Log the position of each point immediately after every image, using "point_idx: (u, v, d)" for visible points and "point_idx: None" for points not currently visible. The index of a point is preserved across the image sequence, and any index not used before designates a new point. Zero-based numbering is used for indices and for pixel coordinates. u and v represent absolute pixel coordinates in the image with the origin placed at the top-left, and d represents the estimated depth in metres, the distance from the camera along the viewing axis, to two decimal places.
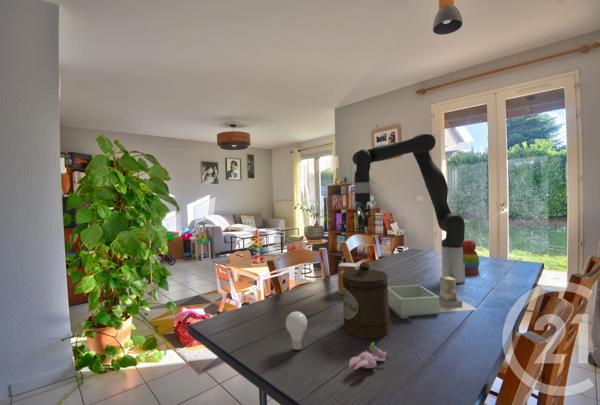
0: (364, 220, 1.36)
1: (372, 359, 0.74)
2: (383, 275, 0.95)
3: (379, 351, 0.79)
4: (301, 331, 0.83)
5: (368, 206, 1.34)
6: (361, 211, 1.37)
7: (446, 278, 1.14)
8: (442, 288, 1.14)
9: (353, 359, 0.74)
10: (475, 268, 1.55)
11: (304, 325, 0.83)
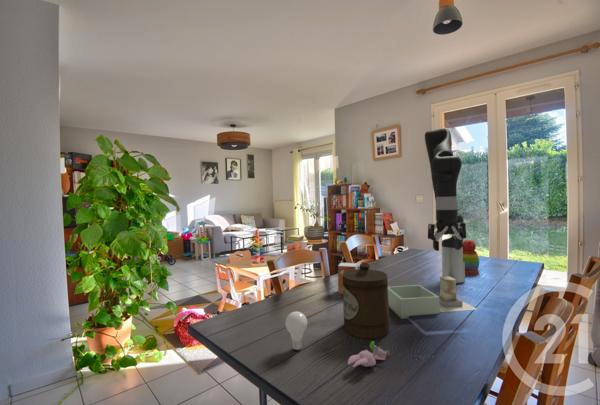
0: (459, 242, 1.13)
1: (371, 358, 0.75)
2: (383, 275, 0.96)
3: (379, 350, 0.79)
4: (301, 331, 0.83)
5: None
6: (457, 231, 1.12)
7: (446, 278, 1.14)
8: (442, 288, 1.14)
9: (352, 357, 0.75)
10: (475, 268, 1.55)
11: (304, 325, 0.83)
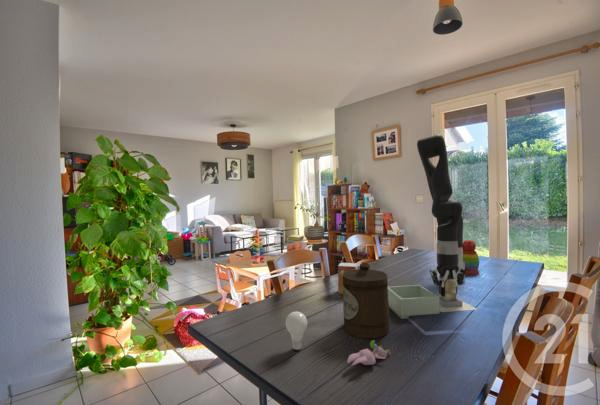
0: None
1: (371, 356, 0.76)
2: (383, 275, 0.95)
3: (380, 349, 0.80)
4: (301, 331, 0.83)
5: None
6: (456, 277, 1.12)
7: None
8: None
9: (352, 355, 0.75)
10: (475, 268, 1.55)
11: (304, 325, 0.83)
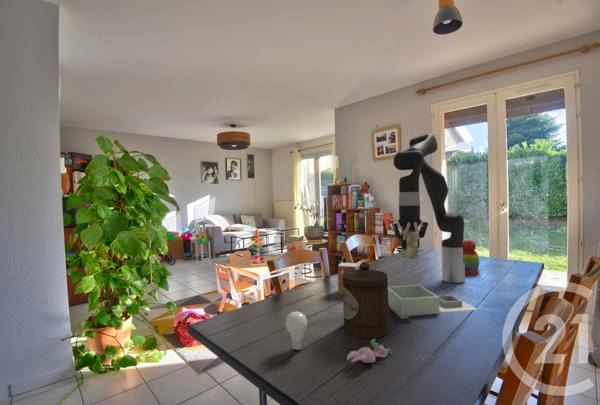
0: None
1: (370, 354, 0.77)
2: (383, 275, 0.96)
3: (380, 347, 0.80)
4: (301, 331, 0.83)
5: None
6: None
7: (408, 231, 1.11)
8: None
9: (352, 353, 0.77)
10: (475, 268, 1.55)
11: (304, 325, 0.83)
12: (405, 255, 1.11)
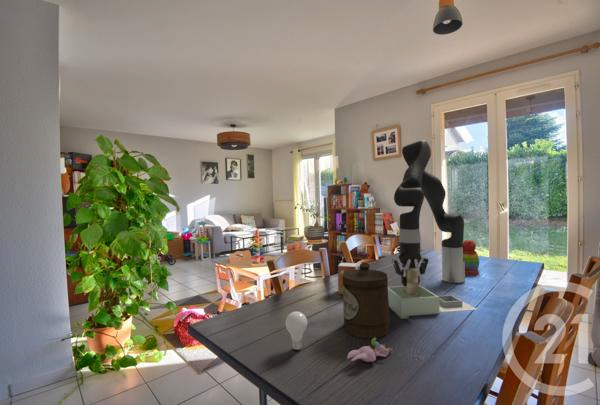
0: (418, 277, 1.11)
1: (371, 353, 0.77)
2: (383, 275, 0.96)
3: (381, 347, 0.81)
4: (301, 331, 0.83)
5: None
6: (418, 266, 1.10)
7: None
8: None
9: (352, 351, 0.77)
10: (475, 268, 1.55)
11: (304, 325, 0.83)
12: (405, 291, 1.11)
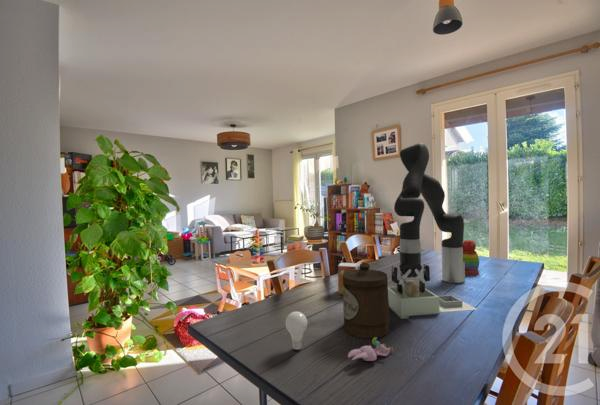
0: (423, 284, 1.11)
1: (372, 353, 0.77)
2: (383, 275, 0.95)
3: (382, 346, 0.81)
4: (301, 331, 0.83)
5: None
6: None
7: (409, 282, 1.11)
8: (406, 292, 1.12)
9: (353, 351, 0.78)
10: (475, 268, 1.55)
11: (304, 325, 0.83)
12: None
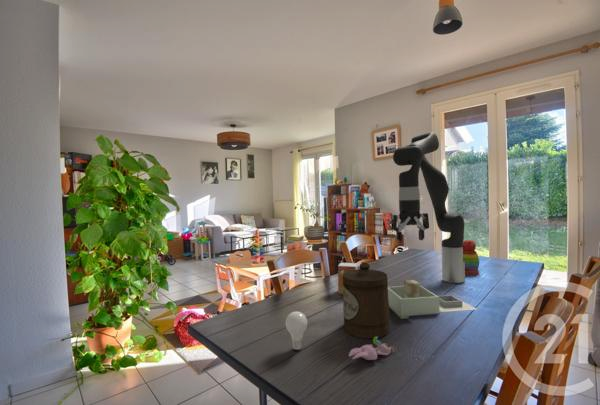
0: (422, 232, 1.13)
1: (372, 352, 0.78)
2: (383, 275, 0.96)
3: (383, 345, 0.81)
4: (301, 331, 0.83)
5: None
6: (420, 222, 1.12)
7: (409, 282, 1.11)
8: (406, 292, 1.12)
9: (354, 350, 0.78)
10: (475, 268, 1.55)
11: (304, 325, 0.83)
12: None
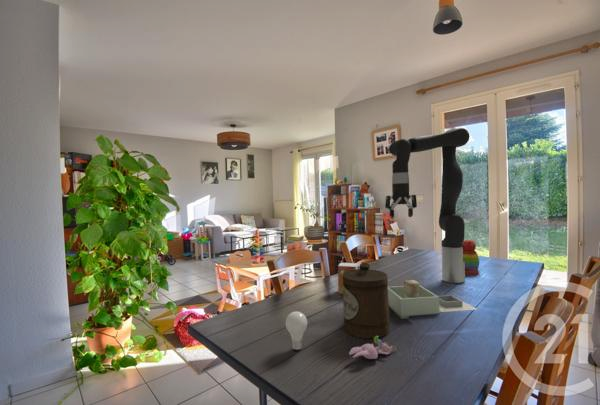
0: (411, 210, 1.37)
1: (373, 351, 0.78)
2: (383, 275, 0.96)
3: (384, 345, 0.82)
4: (301, 331, 0.83)
5: None
6: None
7: (409, 282, 1.11)
8: (406, 292, 1.12)
9: (354, 348, 0.79)
10: (475, 268, 1.55)
11: (304, 325, 0.83)
12: None
